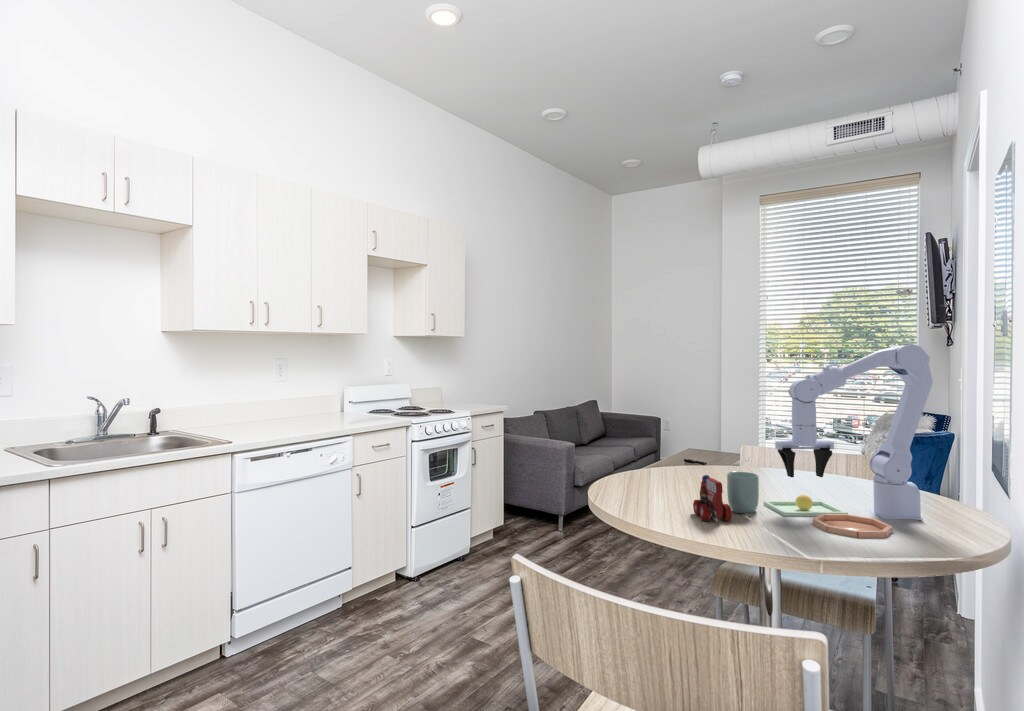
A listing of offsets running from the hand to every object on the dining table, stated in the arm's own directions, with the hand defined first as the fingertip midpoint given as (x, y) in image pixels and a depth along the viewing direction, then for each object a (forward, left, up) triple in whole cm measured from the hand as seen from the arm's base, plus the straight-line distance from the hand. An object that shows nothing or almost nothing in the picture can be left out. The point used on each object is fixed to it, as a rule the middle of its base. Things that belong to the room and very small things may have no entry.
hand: (805, 476), depth 146 cm
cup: (+17, 0, -10) cm, 19 cm away
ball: (+1, 0, -9) cm, 9 cm away
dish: (-2, +16, -9) cm, 19 cm away
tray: (+1, 0, -9) cm, 9 cm away
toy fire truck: (+27, +5, -10) cm, 29 cm away
